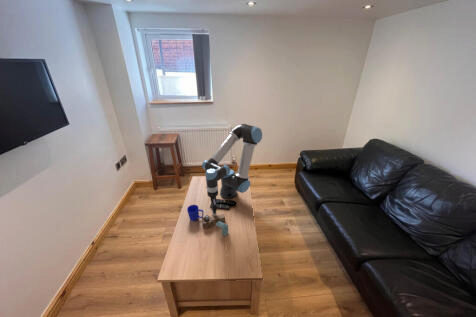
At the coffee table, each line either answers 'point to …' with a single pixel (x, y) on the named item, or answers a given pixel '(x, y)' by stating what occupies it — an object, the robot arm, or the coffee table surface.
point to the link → (212, 220)
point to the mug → (194, 212)
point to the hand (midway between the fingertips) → (214, 215)
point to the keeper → (223, 227)
